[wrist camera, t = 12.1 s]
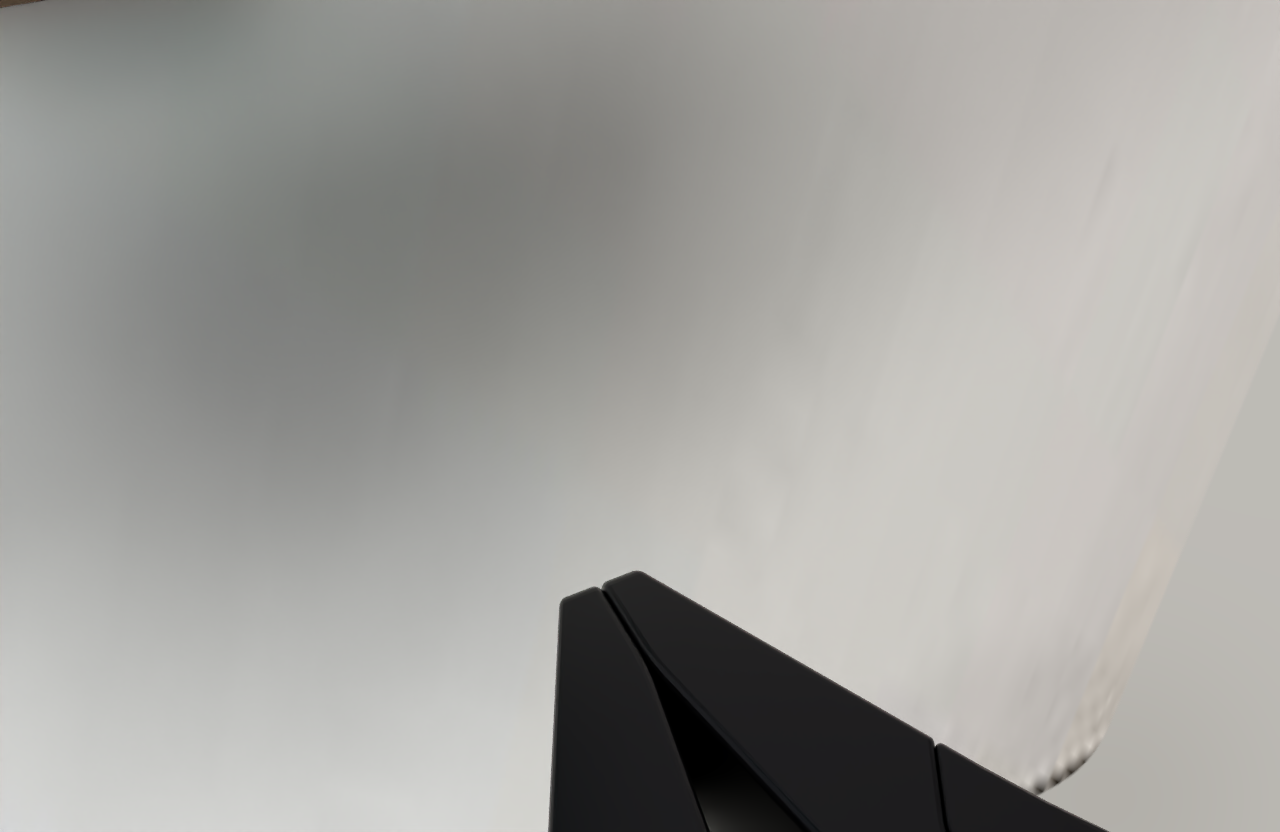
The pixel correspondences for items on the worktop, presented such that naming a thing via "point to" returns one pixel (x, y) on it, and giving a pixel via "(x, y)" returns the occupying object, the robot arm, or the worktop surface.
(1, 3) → the brown pedestal
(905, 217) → the worktop surface
